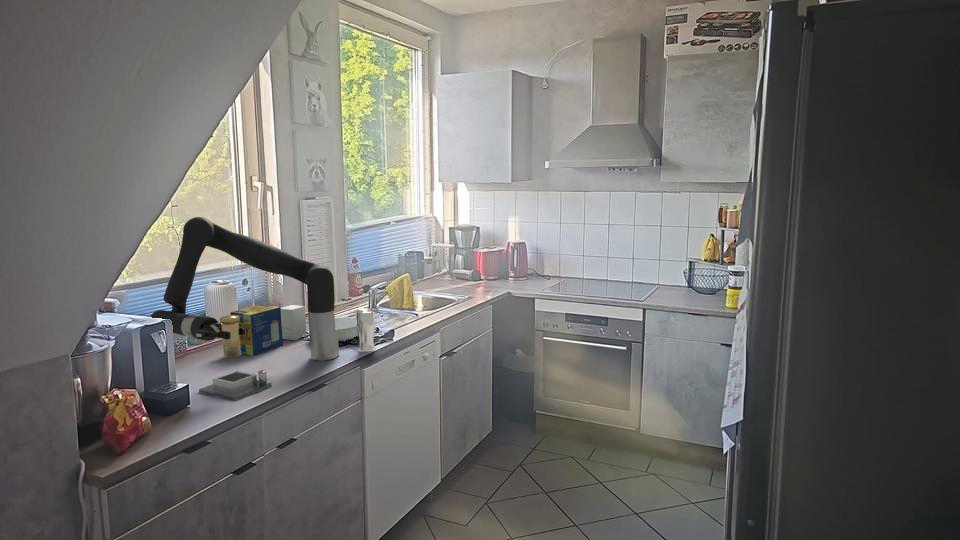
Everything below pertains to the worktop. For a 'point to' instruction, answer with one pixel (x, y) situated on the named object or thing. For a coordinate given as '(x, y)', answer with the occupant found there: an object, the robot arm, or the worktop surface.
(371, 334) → the beer glass
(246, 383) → the socket plate
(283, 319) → the supplement box
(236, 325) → the gold metal cylinder
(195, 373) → the worktop surface
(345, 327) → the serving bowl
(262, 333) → the protein box
